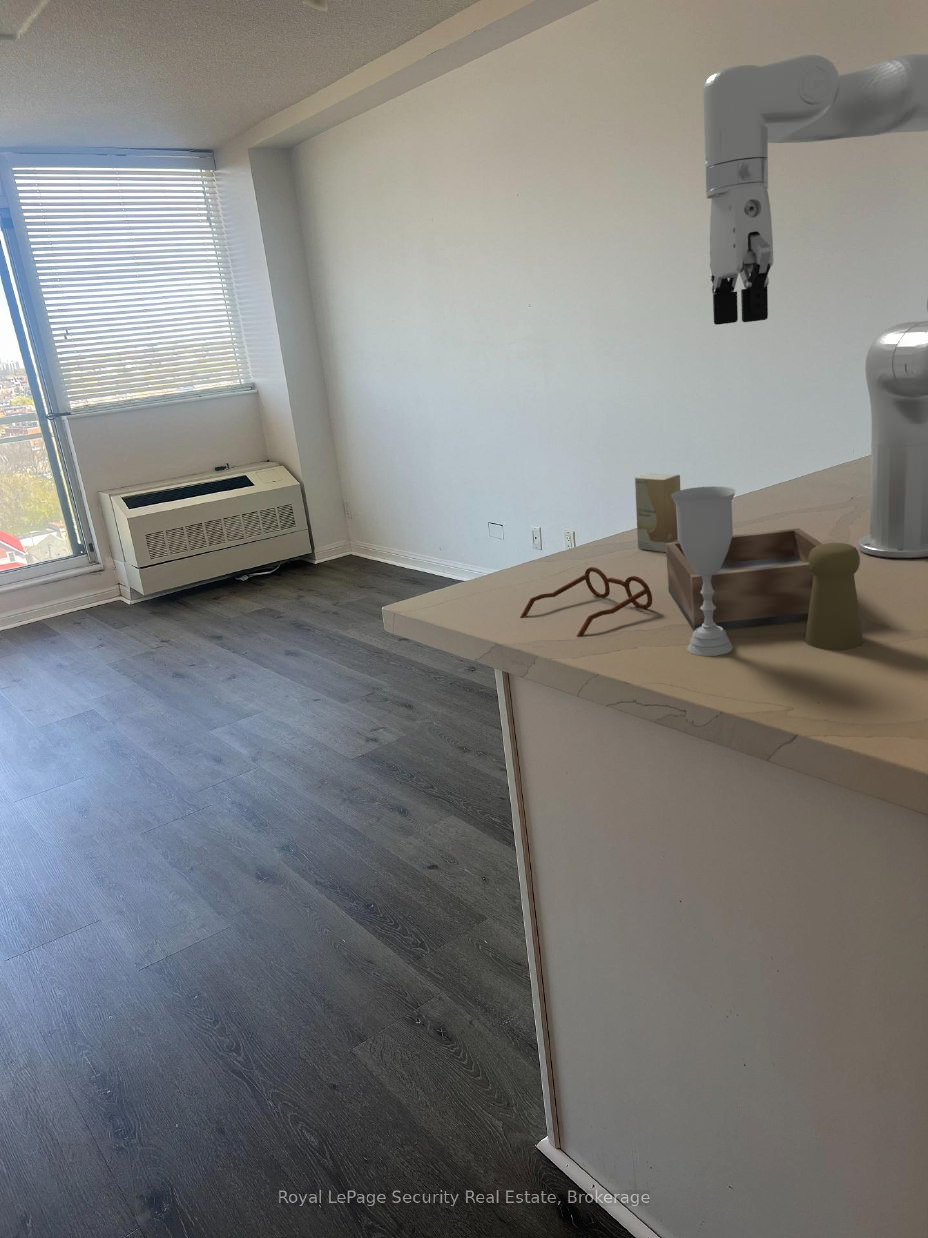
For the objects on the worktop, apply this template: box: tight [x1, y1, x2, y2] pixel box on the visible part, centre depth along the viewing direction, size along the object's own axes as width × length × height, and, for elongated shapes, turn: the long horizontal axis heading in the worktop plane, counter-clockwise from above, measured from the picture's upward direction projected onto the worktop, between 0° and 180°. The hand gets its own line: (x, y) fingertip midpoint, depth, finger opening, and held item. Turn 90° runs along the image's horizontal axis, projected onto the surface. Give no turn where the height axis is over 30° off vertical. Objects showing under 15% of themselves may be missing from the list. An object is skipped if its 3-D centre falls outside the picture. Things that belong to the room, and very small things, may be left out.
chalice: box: [671, 486, 737, 657], centre depth 98 cm, size 7×7×18 cm
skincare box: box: [634, 472, 681, 553], centre depth 145 cm, size 6×4×12 cm
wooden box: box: [665, 527, 823, 632], centre depth 113 cm, size 18×18×7 cm
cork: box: [804, 542, 864, 651], centre depth 97 cm, size 6×6×11 cm
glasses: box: [519, 566, 653, 638], centre depth 118 cm, size 13×13×5 cm
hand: (739, 322), depth 116 cm, fingers open, 9 cm apart
